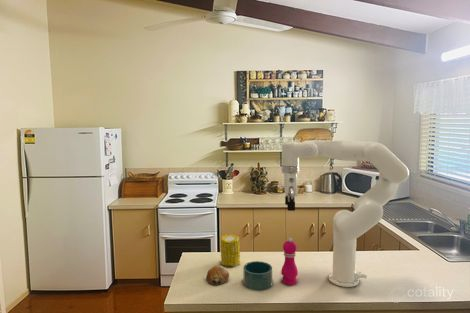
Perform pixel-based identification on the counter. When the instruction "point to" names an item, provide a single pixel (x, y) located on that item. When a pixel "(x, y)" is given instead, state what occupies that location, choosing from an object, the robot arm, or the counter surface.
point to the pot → (257, 275)
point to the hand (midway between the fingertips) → (289, 207)
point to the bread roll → (217, 275)
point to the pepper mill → (289, 263)
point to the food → (230, 250)
